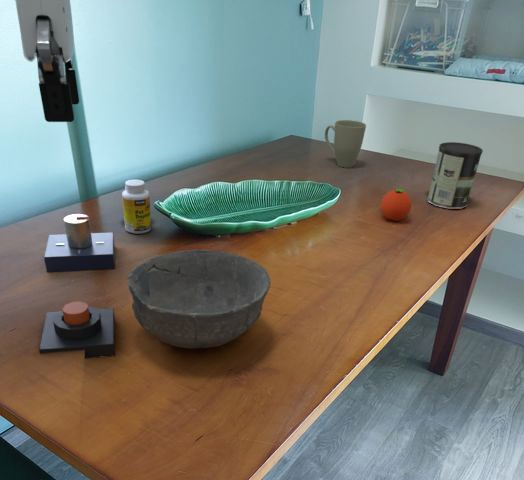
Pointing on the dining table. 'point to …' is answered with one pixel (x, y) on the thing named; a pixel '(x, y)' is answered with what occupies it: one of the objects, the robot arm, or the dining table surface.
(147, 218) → the supplement bottle
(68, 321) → the orange short cylinder
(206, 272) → the bowl
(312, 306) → the dining table surface
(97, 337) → the button base
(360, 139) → the mug
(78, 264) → the lock panel
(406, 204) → the clementine
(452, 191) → the coffee can
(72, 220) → the lock knob
